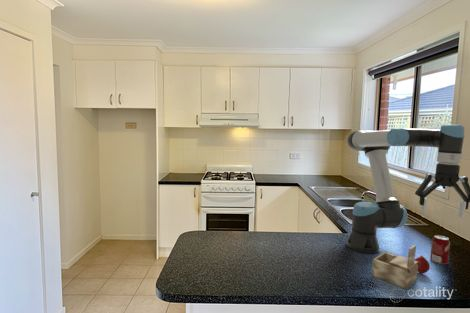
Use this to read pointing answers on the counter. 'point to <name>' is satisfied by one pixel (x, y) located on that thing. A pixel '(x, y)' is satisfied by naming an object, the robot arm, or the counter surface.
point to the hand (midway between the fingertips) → (441, 215)
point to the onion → (422, 265)
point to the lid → (406, 259)
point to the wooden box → (393, 271)
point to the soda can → (440, 249)
